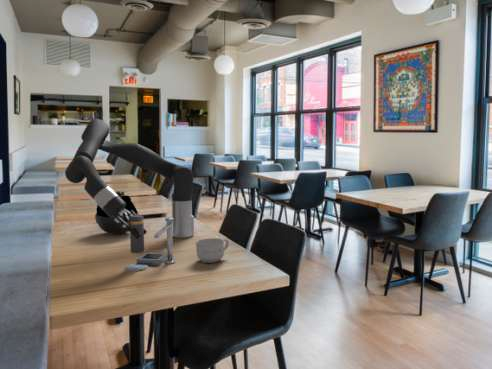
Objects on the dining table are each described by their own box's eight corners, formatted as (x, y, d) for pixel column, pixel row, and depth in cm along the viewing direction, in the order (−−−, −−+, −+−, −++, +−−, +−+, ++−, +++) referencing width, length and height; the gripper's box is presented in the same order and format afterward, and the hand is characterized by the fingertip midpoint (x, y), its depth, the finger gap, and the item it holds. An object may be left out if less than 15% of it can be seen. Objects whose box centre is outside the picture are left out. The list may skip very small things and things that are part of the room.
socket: (145, 257, 170) (145, 252, 169) (167, 258, 168) (167, 253, 168) (136, 264, 161) (136, 259, 160) (160, 265, 160) (159, 260, 159)
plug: (140, 249, 161) (139, 214, 160) (146, 251, 157) (145, 216, 156) (128, 251, 158) (127, 216, 156) (134, 254, 154) (132, 218, 153)
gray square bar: (166, 225, 164) (166, 217, 163) (174, 225, 163) (174, 217, 163) (151, 238, 144) (151, 229, 143) (160, 238, 143) (160, 229, 143)
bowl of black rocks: (145, 235, 206) (144, 196, 203) (102, 241, 194) (101, 200, 192) (130, 227, 222) (129, 191, 220) (90, 232, 211) (89, 194, 208)
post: (172, 260, 166) (172, 219, 164) (177, 262, 163) (176, 221, 161) (163, 261, 164) (162, 221, 162) (167, 264, 161) (166, 222, 159)
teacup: (202, 266, 158) (202, 245, 157) (191, 259, 168) (191, 238, 167) (236, 261, 165) (236, 241, 164) (224, 254, 174) (224, 235, 173)
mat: (143, 263, 162) (143, 262, 162) (151, 268, 156) (151, 267, 156) (122, 266, 158) (122, 265, 158) (130, 272, 151) (130, 271, 151)
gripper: (112, 205, 165) (142, 237, 164) (93, 212, 151) (127, 247, 150) (124, 192, 163) (156, 224, 163) (107, 197, 149) (141, 232, 149)
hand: (142, 235), depth 157 cm, fingers closed on plug, 4 cm apart
